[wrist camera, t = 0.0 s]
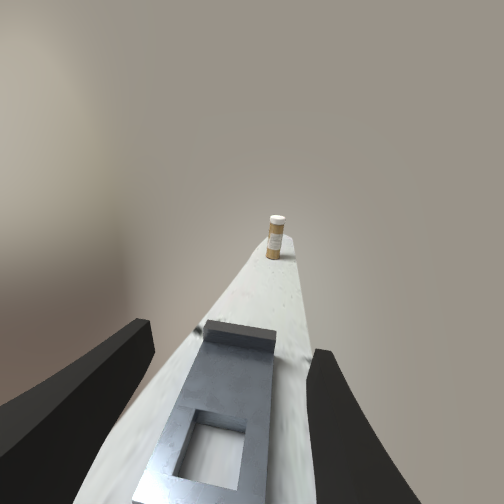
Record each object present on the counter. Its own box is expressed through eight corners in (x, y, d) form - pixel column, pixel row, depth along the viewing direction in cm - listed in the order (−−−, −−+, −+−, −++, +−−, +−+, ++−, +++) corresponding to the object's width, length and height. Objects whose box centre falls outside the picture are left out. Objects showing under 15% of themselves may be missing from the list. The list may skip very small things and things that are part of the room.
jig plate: (260, 545, 19) (266, 517, 17) (135, 514, 20) (127, 484, 18) (272, 354, 37) (276, 330, 35) (207, 343, 38) (207, 319, 36)
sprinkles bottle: (268, 253, 77) (273, 213, 72) (281, 256, 75) (287, 216, 70) (263, 257, 73) (268, 216, 68) (277, 261, 71) (283, 219, 66)
